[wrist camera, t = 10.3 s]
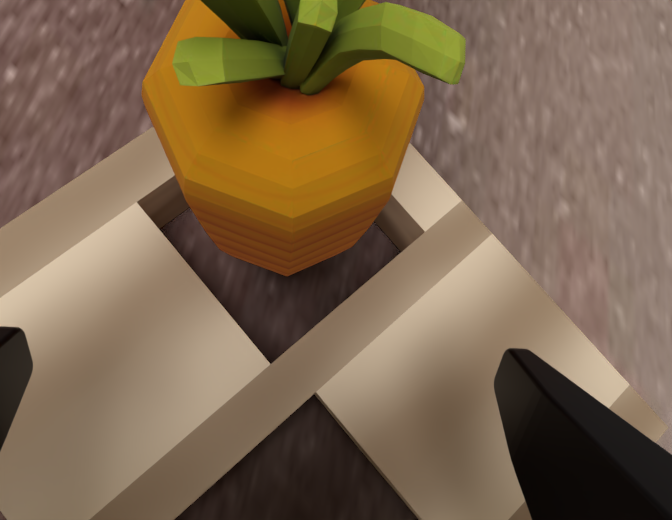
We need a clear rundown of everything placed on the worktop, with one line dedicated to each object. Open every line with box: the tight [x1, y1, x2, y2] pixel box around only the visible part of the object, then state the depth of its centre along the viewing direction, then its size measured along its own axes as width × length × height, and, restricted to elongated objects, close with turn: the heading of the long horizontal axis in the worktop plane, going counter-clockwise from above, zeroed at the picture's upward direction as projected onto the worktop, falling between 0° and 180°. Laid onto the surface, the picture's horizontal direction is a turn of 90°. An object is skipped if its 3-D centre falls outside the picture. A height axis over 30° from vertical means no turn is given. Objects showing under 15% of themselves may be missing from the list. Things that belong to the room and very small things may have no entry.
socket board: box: [0, 126, 668, 520], centre depth 16 cm, size 18×16×3 cm
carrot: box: [142, 0, 465, 276], centre depth 11 cm, size 5×5×15 cm
